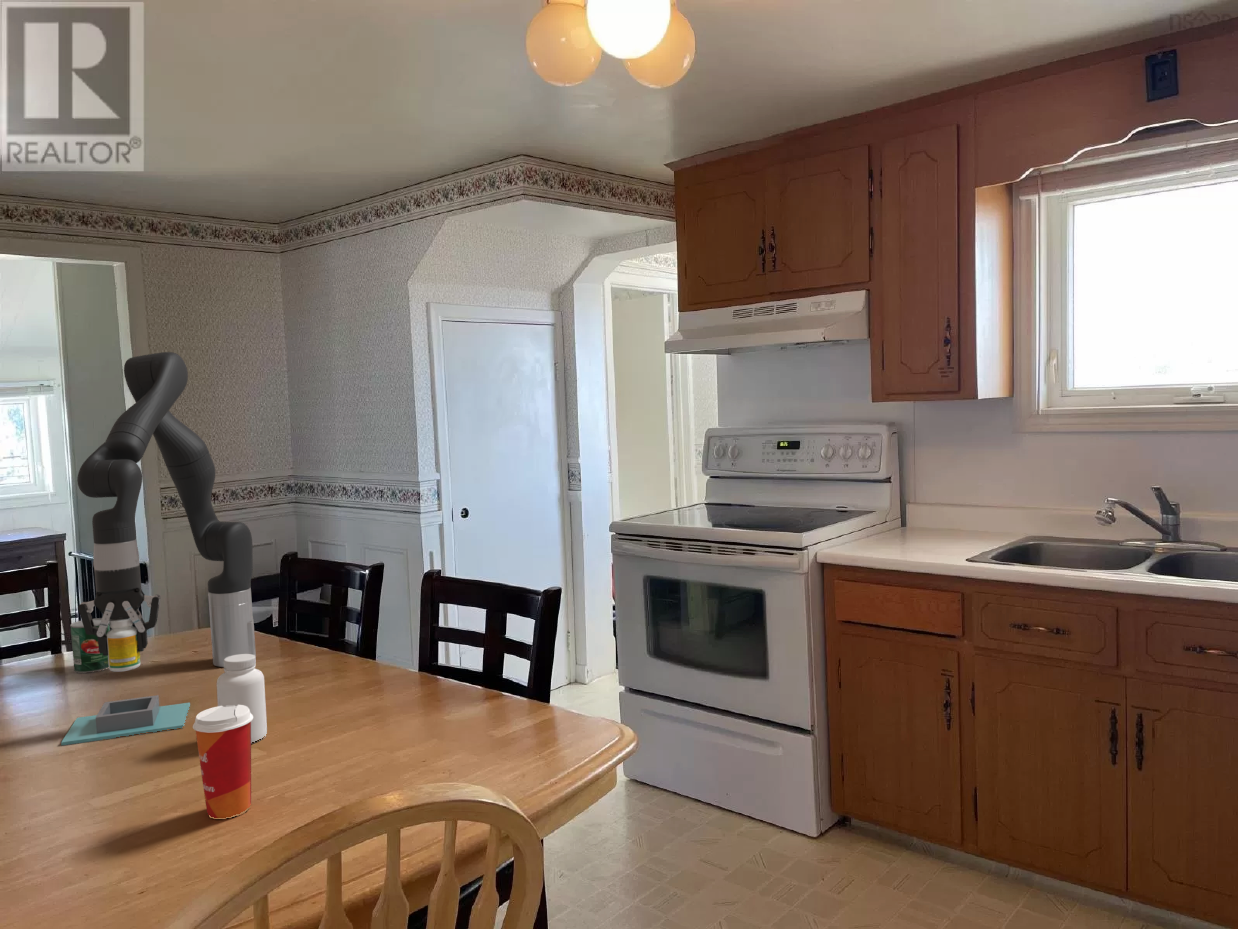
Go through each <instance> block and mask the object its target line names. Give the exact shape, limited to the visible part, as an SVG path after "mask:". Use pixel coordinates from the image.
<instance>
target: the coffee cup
mask: <svg viewBox="0 0 1238 929" xmlns="http://www.w3.org/2000/svg"><path fill="white" fill-rule="evenodd" d="M252 719H253V715H252V714H251V713H250V710H249V708H248V707H247V706H244V705H238V706H235V705H226V707H223V706H218V705H217V706H213V707H210V708H207V709H204V710H202V711H200V712H198V713H197V715H196V716H195V720H194V723H193V724H192V729H193V730H194V731H195V735H196V736H195V737H196V742H197V750H198V759H199V765H200V772H201V779H202V787H203V795H204V799H205V800H204V801H205V807H206V813H208V814H207V816H208V815H210V816H211V817H214V818H226V817H231V816H233V815H236V814H240V813H241V812H243V811H245V810H246V809H247V808H249V807H250V805H251V806H252V743H251V721H252Z"/></svg>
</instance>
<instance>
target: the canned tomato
mask: <svg viewBox="0 0 1238 929" xmlns="http://www.w3.org/2000/svg"><path fill="white" fill-rule="evenodd" d="M92 619H93V622H94V626H95V627H99V626H100V623H101V620H102V617H99V618H92ZM69 627H70V635H71V647H72V658H73V659H72V660H73V669H74V670H73V671H75V672H74V673H76V672H78V673H77V674H87V673H86V672H92V673H94V672H93V671H98V672H101V671H100V670H102V671H104V670H103V669H106V668H108V667H109V665H108V656H103V653H100V652H99V647H98V637H97V636H95V635H87V634H86V632H85V629H84V626H83V623H82V620H79V621H75V622H73V623H71V624H70V626H69ZM110 630H111V627H110V624H109V625H108V628H107V630H106V634H107V633H108V631H110ZM108 669H109V668H108ZM106 670H107V669H106Z"/></svg>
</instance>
